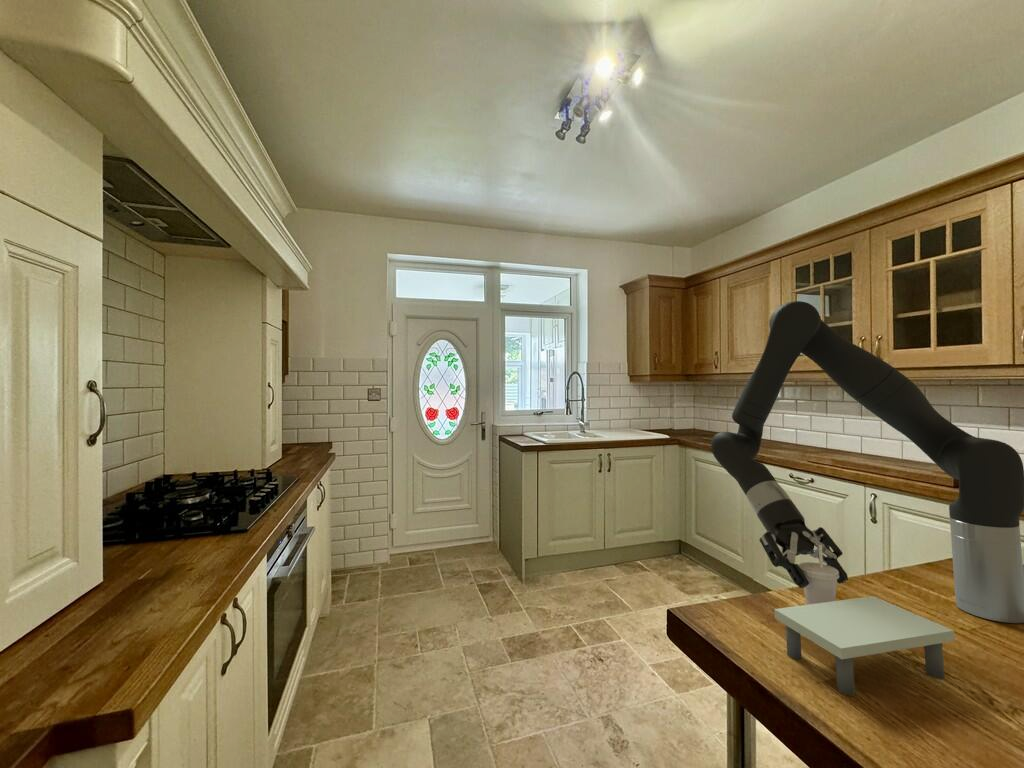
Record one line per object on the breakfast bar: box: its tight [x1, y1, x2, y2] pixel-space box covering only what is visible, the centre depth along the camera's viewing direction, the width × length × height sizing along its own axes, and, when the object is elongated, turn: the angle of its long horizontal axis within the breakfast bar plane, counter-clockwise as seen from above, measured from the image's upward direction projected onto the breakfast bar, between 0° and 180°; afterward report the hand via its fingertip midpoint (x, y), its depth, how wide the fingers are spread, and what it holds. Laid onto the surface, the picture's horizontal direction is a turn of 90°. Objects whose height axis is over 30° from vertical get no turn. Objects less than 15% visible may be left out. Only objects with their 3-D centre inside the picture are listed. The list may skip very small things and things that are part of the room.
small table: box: [774, 595, 956, 697], centre depth 69 cm, size 20×12×7 cm, turn 101°
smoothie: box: [798, 545, 839, 605], centre depth 83 cm, size 6×6×14 cm
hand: (824, 583), depth 81 cm, fingers open, 8 cm apart
